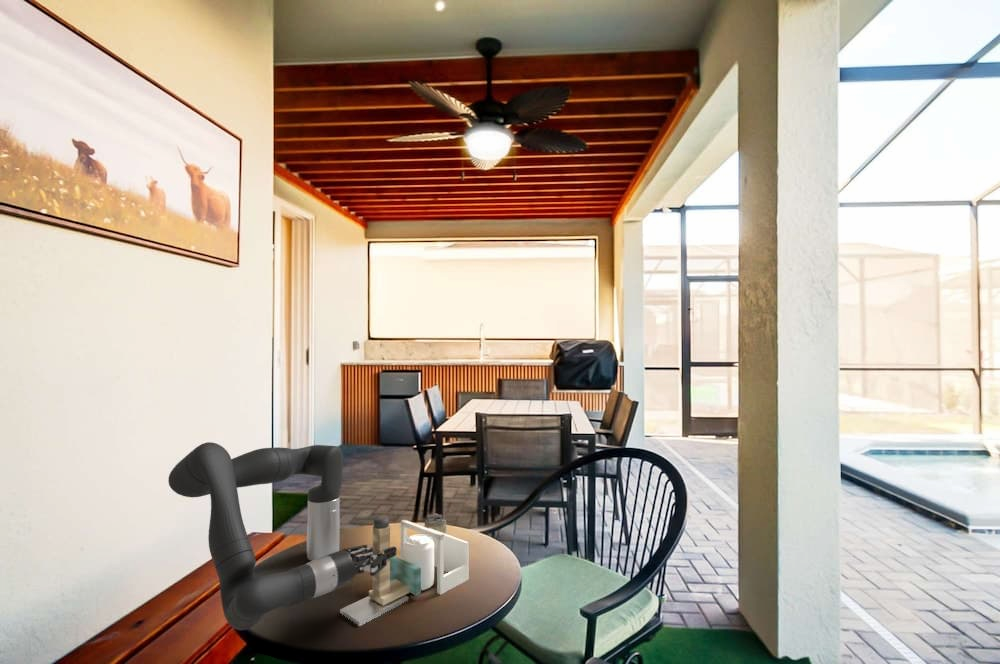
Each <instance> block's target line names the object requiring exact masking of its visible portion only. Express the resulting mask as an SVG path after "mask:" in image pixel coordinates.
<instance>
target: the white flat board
mask: <svg viewBox="0 0 1000 664" xmlns="http://www.w3.org/2000/svg"><path fill="white" fill-rule="evenodd" d="M406 601H407V602H409V596H407V594H405V595H403V596H401V597H399V598H397V599H395V600H393V601H391V602H389V603H388V604H386V605H384V606H383V605H381V604H380V603H378V602H376V601H375V600H373V599H371V598H369V595H367V596H366V597H364V598H361V599H359V600H357V601H355V602H353V603H351V604H349V605H346V606H345V607H343V608H340V609H339V614H340V613H341V614H342V615H341V614H340V615H341V616H343V615H344V616H345V617H344V616H343V617H344V618H346V617H347V618H348V619H347V618H346V619H347V620H349V619H350V620H351V621H350V620H349V621H350V622H352V621H353V622H354V623H353V622H352V623H353V624H355V623H356V624H357V626H358V627H362V626H363V625H365V624H367V623H369V622H371V621H373V620H374V618H375V619H376V618H378V617H380V616H382V615H384V614H386V613H388V612H390V611H392V610H394V609H396V608H397V606H398V607H400V606H402V605H403V604H405V603H407V602H406ZM404 602H405V603H404ZM402 603H403V604H402ZM399 605H400V606H399ZM395 607H396V608H395ZM393 608H394V609H393ZM391 609H392V610H391ZM389 610H390V611H389ZM387 611H388V612H387ZM385 612H386V613H385ZM383 613H384V614H383ZM381 614H382V615H381ZM372 619H373V620H372ZM366 622H367V623H366ZM356 624H355V625H356Z"/></svg>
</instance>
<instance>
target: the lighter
mask: <svg viewBox="0 0 1000 664" xmlns="http://www.w3.org/2000/svg"><path fill="white" fill-rule="evenodd" d="M431 518H433V519H431ZM438 518H439V519H438ZM423 527H426V528H431V529H434V530H436V531H439V532H442V533H445V534H447V520H446V519H443V514H438V513H433V514H431V513H430V514H429V513H428V514H427V516H426V520H425V521H424V526H423Z"/></svg>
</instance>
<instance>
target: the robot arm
mask: <svg viewBox="0 0 1000 664" xmlns="http://www.w3.org/2000/svg"><path fill="white" fill-rule="evenodd" d="M343 469H344V454H343V451H342V449H341V448H340V447H339V446H338V445H337V446H336V445H325V444H312V445H309V446H304V447H300V448H288V447H265V448H258V449H255V450H251V451H249V452H245V453H242V454H241V455H238V456H236V457H233V458H231V455H230V453H229V451H227V449H226V448H224V447H223V445H220V444H218V443H216V442H212V441H211V442H203V443H202V444H199V445H198V446H195V448H194V449H193V450H191V451H190V452H189V453H188V454H186V456H184V457H183V458H182V459H181V460H179V461H178V462H177V463H176V465H175V466H174V467H172V469H171V471H170V473H169V476H168V481H167V482H168V486H169V487H170V489H171V490H172V491H173V492H174V493H176V494H177V495H180V496H183V497H185V498H199V497H200V498H201V497H204V496H208V495H209V497H210V517H209V525H208V527H209V528H208V537H207V538H208V548H209V553H210V555H211V556H210V557H211V559H212V563H213V566H214V569H215V571H216V574H217V576H218V581H219V592H220V598H221V606H222V611H223V615H224V617H225V620H226V621H227V623H228V625H229V626H230V627H231V628H232V629H235V630H237V631H246V630H249V629H250V628H253V627H254V626H256V624H258V622H260V620H261V619H262V618H263V617H264V615H265V614H267V613H269V612H271V611H274V610H276V609H279V608H281V607H285V608H290V607H294V606H297V605H299V604H302V603H304V602H306V601H309V600H311V599H313V598H319V597H321V596H323V595H326V594H329V593H331V592H333V591H335V590H338V589H340V588H342V587H345V586H347V585H349V584H351V583H352V582H353V580H354V578H355V576H356V575H359V574H360V575H361V574H364V573H365V572H368V573H369V575H370V576H371V577H372V576H374V575H376V574H377V573H378V572H379V571H380V570H382V569H383V568H384V567H385V566H386V565H387V559H389V558H392V557H394V556H395V557H397V547H396V546H390V548H388V549H386V550H383V551H380V552H377V553H374V552H373V545H369V546H368V544H362V545H355V546H351V547H347V548H342V549H341V550H340V514H341V513H340V508H341V507H340V505H341V504H340V503H341V502H340V500H341V499H340V497H341V489H342V485H343V471H344V470H343ZM292 475H308V476H314V477H321V483H320V485H316V486H313V487H312V488H310V489H309V490H308V492H307V523H306V558H307V559H308V560H309V562H307V563H305V564H302V565H299V566H297V567H294V568H291V569H289V570H287V571H283V572H282V571H281V572H280V571H279V572H275V573H270V574H264V575H261V576H260V575H259V576H258V577H255V569H256V564H257V563H256V562H257V561H256V559H257V558H256V556H255V553H254V550H253V547H252V545H251V542H250V538H249V536H248V533H247V530H246V527H245V524H244V519H243V517H242V512H241V511H242V510H241V507H240V506H241V505H240V499H239V492H238V488H244V487H245V488H246V487H251V486H259V485H269V484H275V483H280V482H283V481H285V480H286V479H288V478H290V477H291V476H292ZM377 556H379V557H378V558H377V559H376V557H377Z"/></svg>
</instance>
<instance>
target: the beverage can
mask: <svg viewBox="0 0 1000 664" xmlns="http://www.w3.org/2000/svg"><path fill="white" fill-rule="evenodd" d="M403 560H404V561H406V562H408V563H411V564H413V565H415V566H417V567H419V568H421V590H422V591H425V590H427V589H429V588H431V587H432V586H433V585H434V583H435V567H434V542H433V540H432V537H431V536H428V535H425V534H423V533H420V534H419V533H417V534H413V535H410V536H407V539H406V540H405V543H404V546H403Z"/></svg>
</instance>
